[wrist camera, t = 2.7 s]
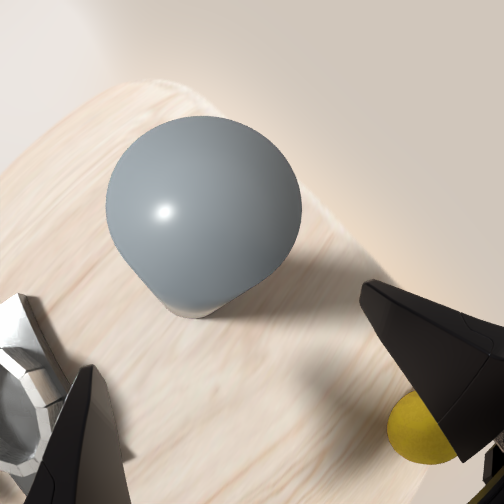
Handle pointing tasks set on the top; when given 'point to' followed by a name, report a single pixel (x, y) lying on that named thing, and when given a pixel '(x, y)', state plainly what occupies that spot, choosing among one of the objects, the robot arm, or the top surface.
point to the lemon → (417, 433)
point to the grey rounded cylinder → (203, 211)
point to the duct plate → (26, 391)
